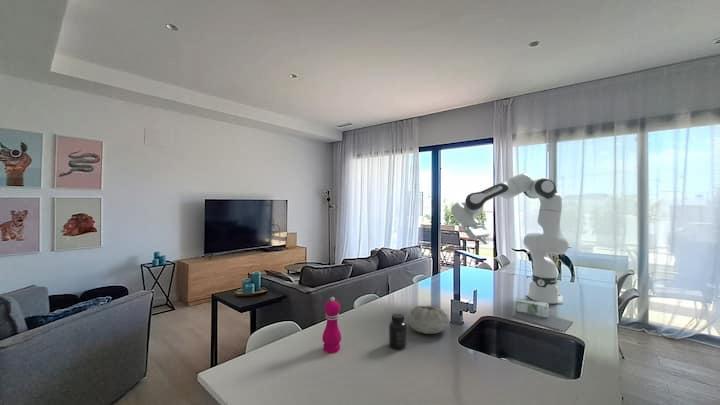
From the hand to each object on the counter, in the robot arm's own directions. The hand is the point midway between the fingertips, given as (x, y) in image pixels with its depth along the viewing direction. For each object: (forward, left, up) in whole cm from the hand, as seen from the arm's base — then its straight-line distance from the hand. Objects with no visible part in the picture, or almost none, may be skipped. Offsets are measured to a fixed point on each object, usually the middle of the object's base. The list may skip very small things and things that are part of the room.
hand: (487, 243), depth 169 cm
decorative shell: (+57, -1, -34) cm, 66 cm away
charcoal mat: (+5, +30, -33) cm, 45 cm away
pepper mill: (+100, -16, -34) cm, 107 cm away
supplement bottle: (+79, -1, -34) cm, 86 cm away
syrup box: (+3, +17, -30) cm, 35 cm away
